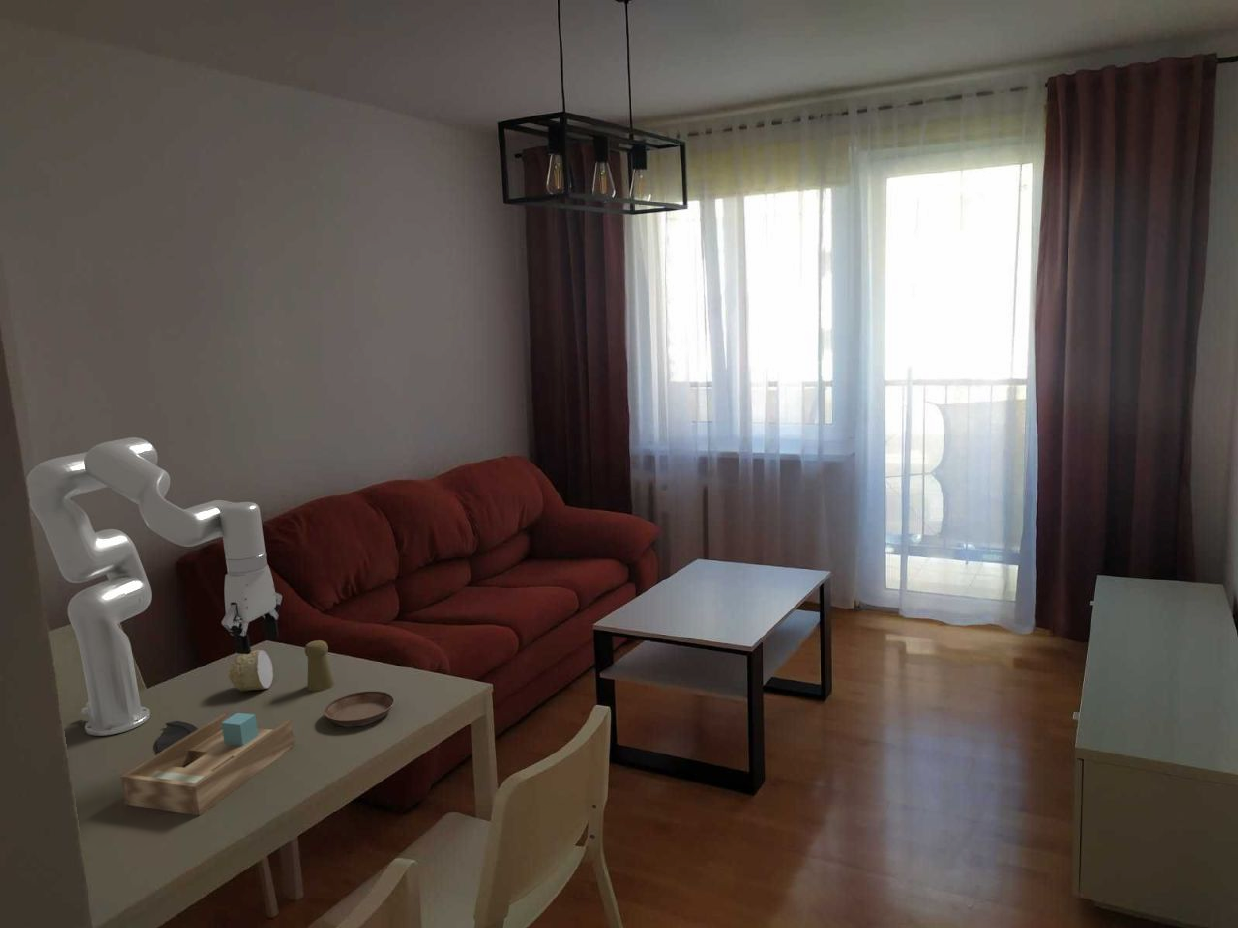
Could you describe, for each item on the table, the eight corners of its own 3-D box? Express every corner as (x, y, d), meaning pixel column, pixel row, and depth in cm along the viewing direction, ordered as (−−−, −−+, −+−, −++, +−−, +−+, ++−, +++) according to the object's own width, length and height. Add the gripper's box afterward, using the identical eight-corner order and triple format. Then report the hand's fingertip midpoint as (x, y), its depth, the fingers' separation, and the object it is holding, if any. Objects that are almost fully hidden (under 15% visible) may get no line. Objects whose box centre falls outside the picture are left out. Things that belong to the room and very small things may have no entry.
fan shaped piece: (199, 721, 198) (198, 714, 198) (201, 746, 186) (200, 739, 186) (157, 730, 194) (156, 723, 194) (156, 756, 182) (155, 749, 182)
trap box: (125, 804, 164) (120, 776, 163) (227, 737, 188) (223, 713, 187) (199, 815, 158) (195, 786, 157) (294, 745, 182) (291, 720, 182)
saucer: (383, 695, 205) (381, 684, 204) (405, 718, 193) (403, 706, 192) (317, 714, 197) (315, 702, 197) (335, 739, 185) (334, 726, 184)
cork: (307, 683, 214) (302, 639, 212) (334, 679, 216) (328, 635, 214) (307, 693, 208) (301, 648, 206) (334, 688, 210) (328, 644, 208)
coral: (271, 667, 207) (229, 653, 206) (260, 704, 209) (218, 691, 209) (286, 649, 216) (246, 635, 215) (275, 684, 218) (236, 671, 218)
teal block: (224, 743, 179) (221, 722, 178) (240, 733, 183) (237, 712, 182) (243, 745, 177) (239, 724, 176) (258, 735, 181) (255, 714, 181)
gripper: (260, 551, 191) (271, 629, 194) (200, 575, 175) (212, 660, 178) (290, 552, 188) (300, 631, 191) (231, 576, 172) (243, 663, 175)
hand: (258, 645), depth 185 cm, fingers open, 7 cm apart
